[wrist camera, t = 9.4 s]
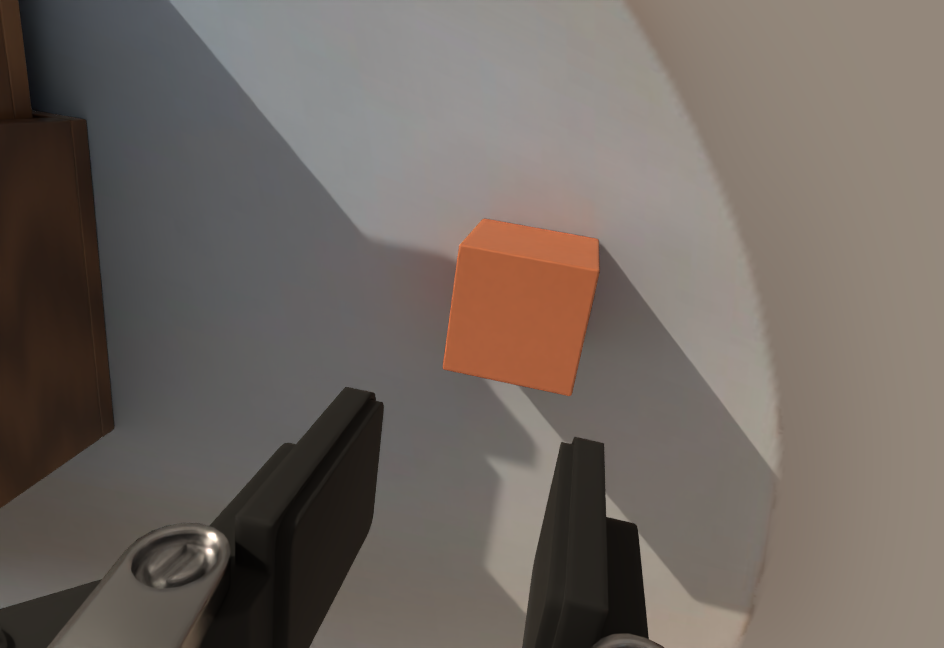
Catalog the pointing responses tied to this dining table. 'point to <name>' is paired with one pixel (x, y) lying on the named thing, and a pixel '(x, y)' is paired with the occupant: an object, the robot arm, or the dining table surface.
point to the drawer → (13, 65)
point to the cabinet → (48, 302)
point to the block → (521, 305)
